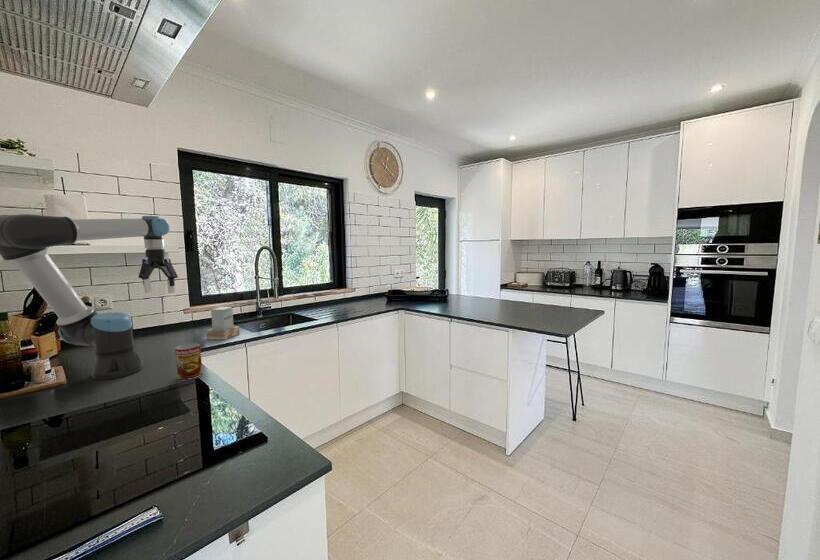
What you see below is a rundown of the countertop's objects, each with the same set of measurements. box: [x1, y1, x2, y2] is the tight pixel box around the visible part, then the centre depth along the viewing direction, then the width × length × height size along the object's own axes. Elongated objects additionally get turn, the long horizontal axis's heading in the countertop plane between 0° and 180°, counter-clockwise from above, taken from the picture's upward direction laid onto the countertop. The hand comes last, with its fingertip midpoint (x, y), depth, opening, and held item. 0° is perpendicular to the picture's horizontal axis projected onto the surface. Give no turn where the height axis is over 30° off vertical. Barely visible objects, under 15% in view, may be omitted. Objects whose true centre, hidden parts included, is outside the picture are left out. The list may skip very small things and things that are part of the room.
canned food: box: [174, 342, 203, 380], centre depth 130 cm, size 8×8×12 cm
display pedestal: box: [205, 325, 240, 340], centre depth 184 cm, size 11×11×4 cm
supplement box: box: [210, 306, 235, 331], centre depth 183 cm, size 7×7×13 cm
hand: (159, 292), depth 166 cm, fingers open, 13 cm apart
